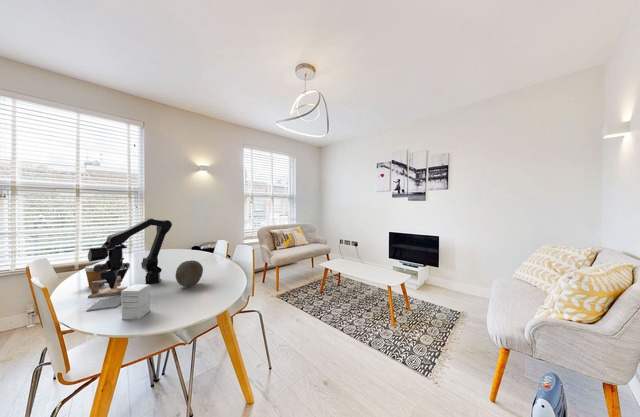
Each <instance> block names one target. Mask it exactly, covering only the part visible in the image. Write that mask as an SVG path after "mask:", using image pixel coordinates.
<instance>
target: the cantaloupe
mask: <svg viewBox="0 0 640 417" xmlns="http://www.w3.org/2000/svg"><path fill="white" fill-rule="evenodd" d="M203 268H204V267H203V265H202V264H201V263H200V262H199V261H198V260H192V259H191V260H185V261H183V262H181V263H180V264H179V265H178V266H177V268H176V271H175V279H176V282H177V284H179V285H180V286H181V287H185V288H191V287H194V286H195V285H197V284H198V283H199V282H200V280H201V279H202V276H203V273H204V272H203V271H204V269H203Z"/></svg>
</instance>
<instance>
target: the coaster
mask: <svg viewBox="0 0 640 417" xmlns="http://www.w3.org/2000/svg"><path fill="white" fill-rule="evenodd" d="M120 305H121V296H120V297H112V298H111V297H110V298H105V299H99V300H98V301H96V302H94V304H92V305H91V306H90V307H88V308H87V309H86V310H85V311H86V312H92V311H100V310H107V309H115V308H116V309H117V308H118V307H119V306H120Z"/></svg>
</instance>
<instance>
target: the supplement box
mask: <svg viewBox="0 0 640 417" xmlns="http://www.w3.org/2000/svg"><path fill="white" fill-rule="evenodd" d="M150 291H151V287H150V284H132V285H130V286H127V288H126V289H124V290H122V291H121V294H120V297H121V304H120V305H121V320H140V319H141V318H142V317H143V316H145V315H146V314H148V313H149V312H150V311H151V299H150V298H151V293H150Z"/></svg>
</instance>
